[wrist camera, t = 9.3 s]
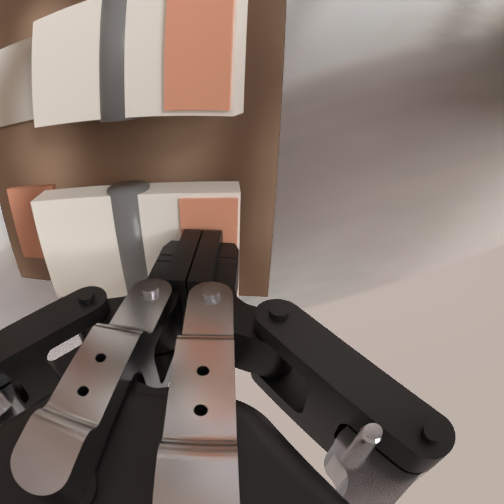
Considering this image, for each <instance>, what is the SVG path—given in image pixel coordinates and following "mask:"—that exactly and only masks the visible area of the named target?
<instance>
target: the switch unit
mask: <svg viewBox="0 0 504 504" xmlns="http://www.w3.org/2000/svg"><path fill="white" fill-rule="evenodd" d="M83 1H86V0H0V204H1V209H2V213H3V217H4V221H5V224H6V228H7V232H8V235H9V239H10V242H11V245H12V249H13V252H14V255H15V258H16V261H17V264H18V267H19V270H20V273H21V276H22V277H25V278H34V279H42V280H51V277H50V274H49V271H48V268H47V265H46V261H45V258H44V255H43V251H42V248H41V244H40V240H39V236H38V233H37V229H36V225H35V220H34V216H33V212H32V207H31V203H30V202H31V201H32V200H33V199H35V198H36V197H37V196H38V195H40V194H41V193H42V192H43V191H45V190H54V189H65V188H76V187H89V186H103V185H113V184H116V183H119V182H123V181H129V180H143V181H147V182H149V183H161V182H199V181H239V185H240V191H241V201H240V243H239V293H238V295H241V296H263V297H268V287H269V275H270V263H271V250H272V237H273V224H274V210H275V196H276V182H277V167H278V152H279V136H280V120H281V102H282V84H283V65H284V45H285V23H286V0H248V11H247V33H246V57H245V83H244V110H243V113H241V114H239V115H236V116H148V117H142V118H138V119H132V120H125V121H116V122H100V120H91V121H81V122H73V123H65V124H57V125H50V126H43V127H37V128H35V127H34V115H33V100H32V33H33V22H34V21H36V20H38V19H40V18H43V17H45V16H47V15H50V14H52V13H54V12H57V11H59V10H62V9H64V8H67V7H70V6H72V5H75V4H78V3H81V2H83Z"/></svg>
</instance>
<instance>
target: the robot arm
mask: <svg viewBox="0 0 504 504" xmlns="http://www.w3.org/2000/svg"><path fill="white" fill-rule="evenodd" d="M238 277H239V249H238V248H237V246H236V245H235V243H223V232H222V230H204V231H203V230H200V229H184V231H183V233H182V236H181V238H180V240H179V241H174V240H171V241H170V242H169V243H167V244H166V245H165V246H163V248H162V250H161V252H160V254H159V256H158V258H157V260H156V262H155V264H154V266H153V268H152V270H151V272H150V274H149V276H148V278H147V279H144V280H141V281H139V282H137V283H136V284H135V285H133V287H132V288H131V289H130V291H129V292H128V294H127V296H123V297H116V298H109V299H108V298H107V294H106V292H105V291H104V290H103V289H102V288H100V287H96V286H88V287H83V288H81V289H78V290H76V291H74V292H72V293H70V294H68V295H66V296H64V297H62V298H61V299H59V300H57V301H55V302H53V303H51V304H49V305H47V306H45V307H43V308H41V309H39V310H37V311H35V312H34V313H32V314H30V315H28V316H26V317H24V318H22V319H20V320H18V321H17V322H15V323H13V324H11V325H9V326H7V327H5V328H4V329H2V330H0V504H395V503H396V501H397V500H398V499H399V498H400V497H401V496H402V495H403V494H404V492H405V491H406V490H407V489H408V488H409V487H410V486H411V484H413V483H414V482H415V481H416V480H418V479H419V478H420V477H421V476H423V475H424V474H425V473H426V472H428V471H429V470H430V469H431V468H432V467H433V466H435V465H436V464H437V463H438V462H439V461H440V460H442V459H443V458H444V457H445V456H446V455H447V454H448V453H449V452H450V451H451V450H452V448H453V446H454V443H455V431H454V428H453V426H452V424H451V422H450V421H449V420H448V419H447V418H446V417H445V416H443V415H442V414H441V413H439V412H438V411H436V410H435V409H434V408H432V407H431V406H429V405H428V404H427V403H426V402H424V401H423V400H421V399H420V398H418V397H417V396H416V395H415V394H413V393H412V392H410V391H409V390H408V389H407V388H405V387H404V386H403V385H401V384H400V383H398V382H397V381H396V380H394V379H393V378H392V377H390V376H389V375H388V374H386V373H385V372H384V371H382V370H381V369H380V368H378V367H377V366H376V365H374V364H373V363H372V362H370V361H369V360H367V359H366V358H365V357H364V356H362V355H361V354H360V353H358V352H357V351H355V350H354V349H353V348H352V347H350V346H349V345H347V344H346V343H345V342H344V341H342V340H341V339H340V338H338V337H337V336H336V335H334V334H333V333H332V332H331V331H329V330H328V329H327V328H325V327H324V326H322V325H321V324H320V323H319V322H317V321H316V320H315V319H313V318H312V317H311V316H310V315H308V314H307V313H306V312H304V311H303V310H302V309H300V308H299V307H298V306H296V305H295V304H293V303H292V302H289V301H286V300H282V299H271V300H267V301H264V302H262V303H261V304H259V305H258V306H257V307H255V306H251V305H248V304H246V303H244V302H243V301H241V300H240V299H239V298H238V297H237V290H238ZM77 334H79V336H80V338H81V341H82V345H80V346H78V347H77V348H75V349H73V350H71V351H70V352H68V353H66V354H64V355H63V356H61V357H59V358H58V359H56V360H53V361H48V360H47V355H48V353H49V351H50V350H51V349H53V348H54V347H56V346H58V345H60V344H61V343H63V342H65V341H67V340H68V339H70V338H72V337H74V336H75V335H77ZM235 368H238V369H242V370H244V371H248V372H251V375H252V378H253V380H254V381H255V382H256V383H257V384H258V385H259V386H260V387H261V388H262V389H263V390H264V392H265V393H266V394H267V395H268V396H269V397H270V398H271V399H272V400H273V401H274V402H275V403H276V404H277V405H278V406H279V407H280V408H281V409H282V410H283V411H284V412H285V413H286V414H287V415H288V416H289V417H291V419H293V420H294V421H295V422H296V423H297V424H298V425H299V426H300V427H301V428H302V429H303V430H304V431H305V432H306V433H307V434H308V435H309V436H310V437H311V438H312V439H314V440H315V441H316V442H317V443H318V444H319V445H320V446H321V447H322V448H323V449H324V450H325V451H327V454H326V457H325V460H324V466H325V471H326V473H327V475H328V476H329V477H330V478H331V480H332V481H333V483H334V484H335V487H336V490H335V489H334V488H333V487H332V486H331V485H330V484H329V483H328V482H327V481H326V480H325V479H324V478H323V477H322V476H321V475H320V474H319V473H318V472H317V471H316V470H315V469H314V468H313V467H312V466H311V465H310V464H309V463H308V462H307V461H306V460H305V459H304V458H303V457H302V456H301V455H300V453H299V452H298V451H297V450H296V449H295V448H294V447H293V446H292V445H291V444H290V443H289V442H288V441H287V440H286V438H285V437H284V436H283V435H282V434H281V433H280V432H279V431H278V430H277V429H276V428H275V426H274V425H273V424H272V423H271V422H270V421H269V420H268V419H267V418H266V417H265V416H264V415H263V414H262V413H260V412H259V411H257V410H256V409H255V408H253V407H251V406H249V405H247V404H245V403H243V402H241V401H238V400H236V397H235ZM169 382H170V385H169ZM168 385H169V387H168Z"/></svg>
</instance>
